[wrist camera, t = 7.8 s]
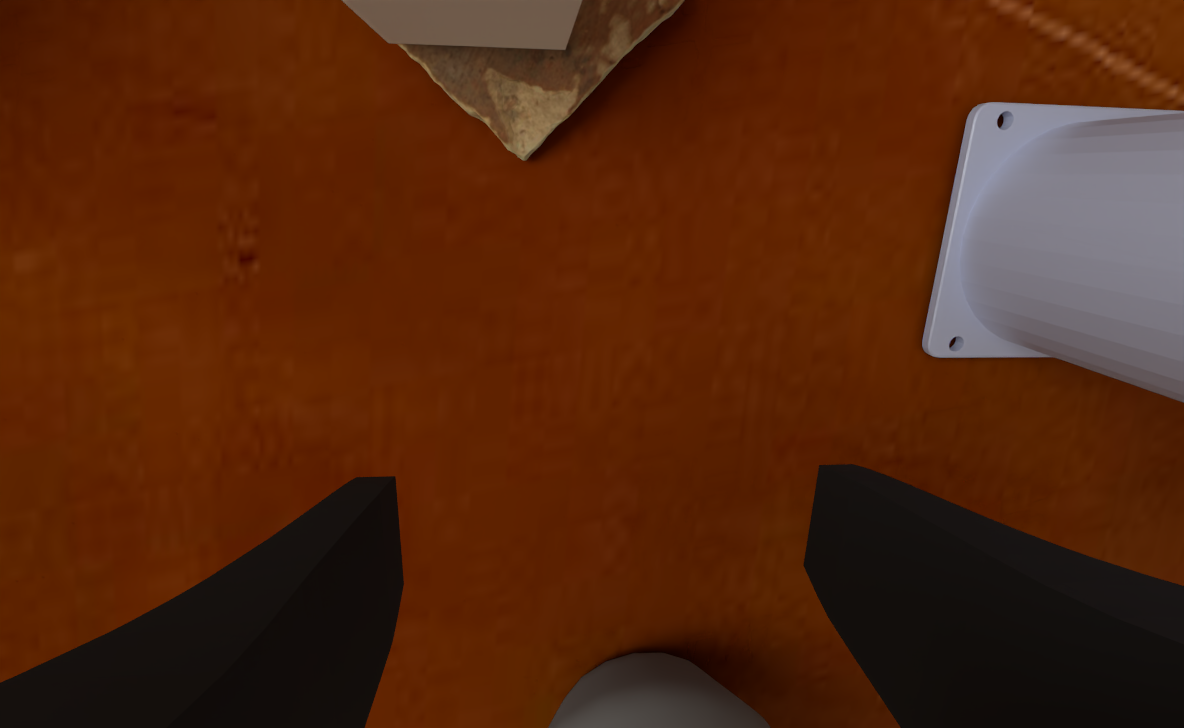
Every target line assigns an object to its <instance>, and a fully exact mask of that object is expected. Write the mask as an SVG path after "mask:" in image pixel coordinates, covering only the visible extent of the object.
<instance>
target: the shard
mask: <svg viewBox="0 0 1184 728" xmlns="http://www.w3.org/2000/svg"><path fill="white" fill-rule="evenodd" d="M684 1H685V0H582V2H581V5H580V8H579V11H578V14H577V17H576V20H575V23H574V26H573V29H572V32H571V35H570V38H569V40H568V43H567V46H566V49H565V50H554V49H528V48H501V47H475V46H449V45H423V44H398V45H399V46H400V47H401V48H402V49H404V50H405V51H406V52H407V54H408V55H409V56H410V57H411V58H412V59H413V60H415V61H416V62H418V63H420V64H421V66H422V67H423V68H424V69H425V70H426V71H427V72H428V74H429V75H430V77H431V78H432V79H433V81H434V82H436V83H437V84H439V85H440V86H441V87H442V88H443V90H444V91H445V92H446V93H447V94H448V95H449V96H450V97H451V98H452V99H453V100H454V101H455V102H456V103H457V104H458V105H459V106H460V107H462V108H463V109H464V110H465V111H466V112H467V113H468V114H469V115H471V116H474V117H476V118H478V119H480V120H481V121H483V122H484V123H486V124H487V125H488V126H489V128H490V129H491V130H492V131H493V132H494V133H495V135H496V136H497V137H498V138H499V139H500V140H501V141H502V143H503V144H504V146H505V147H506V148H507V150H509V151H511V152H513V153H514V154H516V155H517V157H519V158H520V159H522V160H524V161H525V160H527V159H528V158H529V156H530V155H531V154H532V153H533V152H534V151H535V150H536V149H537V148H539V147H540V146H541V145H542V143H543V142H544V141H545V139H546V138H547V136H548V135H549V134H550V133H551V132H552V131H553V130H554V129H555V128H556V127H557V126H558V125H559V124H560V123H562V122H563V121H564V120H566V119H567V118H568V117H569V116H570V115H571V114H572V113H573V112H574V111H575V110H576V109H577V108H578V106H579V105H580V104H581V103H582V102H583V101H584V100H585V99H586V98H587V97H588V96H589V95H590V94H591V93H592V91H593V90H594V89H595V88H596V87H597V86H598V85H599V84H600V83H601V82H602V80H603V79H604V78H605V77H606V76H607V75H608V74H609V72H610V71H611V70H612V69H613V68H614V67H615V66H616V65H617V64H618V62H619V61H620V60H621V59H622V58H623V57H624V56H625V55H626V54H627V53H629V52H630V51H631V50H632V49H633V48H634V46H635V45H636V44H638V43H639V42H641V41H642V40H643V39H645V38H646V37H647V36H648V35H649V34H650V33H651V32H652V31H653V30H654V29H655V28H656V27H657V26H658V25H659V24H661V23H662V22H663V21H664V20H666V19H667V18H669V17H671V16H672V14H673V13H674V12H675V11H676V10H677V9H678V8H679V6H680V5H681V4H682V3H683V2H684Z"/></svg>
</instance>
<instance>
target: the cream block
mask: <svg viewBox="0 0 1184 728" xmlns="http://www.w3.org/2000/svg"><path fill="white" fill-rule="evenodd" d="M342 1H343V2H344V3H345V4H346V5H347V6H348V7H350V8H351V9H352V10H353V11H354V12H355V13H356V14H357V15H358V16H359V17H360V18H362V19H363V20H364V21H365V22H366V23H367V24H368V25H369V26H370V27H371V28H372V29H373V30H375V31H376V32H377V33H378V34H379V35H380V36H381V37H382V38H383V39H384V40H385V41H387V42H388V43H396V44H423V45H449V46H475V47H501V48H528V49H554V50H565V49H566V46H567V43H568V40H569V38H570V35H571V32H572V29H573V26H574V23H575V20H576V17H577V14H578V11H579V8H580V5H581V2H582V0H342Z"/></svg>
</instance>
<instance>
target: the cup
mask: <svg viewBox="0 0 1184 728" xmlns="http://www.w3.org/2000/svg"><path fill="white" fill-rule="evenodd" d="M548 728H770V726H769V724H768V723H767V722H766V721H765V719H764V718H763V717H762V716H761V715H760V714H758V713H757V712H756V711H755V710H753V709H752V708H751V707H750V706H748V705H747V704H746V703H744V702H743V701H742V700H740V699H739V698H738V697H737V696H735V695H734V694H733V693H731V692H730V691H729V690H727V689H726V688H725V687H724V686H722V685H721V684H720V683H718V682H717V681H716V680H714V679H713V678H712V677H710V676H709V675H708V674H706V673H705V672H704V671H702V670H701V669H700V668H699V667H697V666H696V665H694V664H693V663H692V662H690V661H689V660H686V659H682V658H679V657H676V656H672V655H669V654H666V653H632V654H629V655H626V656H623V657H619V658H616V659H613V660H609V661H606V662H604V663H603V664H601V665H600V666H598V667H597V668H595V669H593V670H592V671H590V672H589V673H587V674H586V675H584V676H583V677H581V679H580V680H579V681H578V682H577V683H576V685H575V686H574V687H573V688H572V690H571V691H570V692H569V693H568V695H567V696H566V697H565V699H564V700H563V702H562V704H561V705H560V707H559V709H558V711H557V712H556V714H555V716H554V718H553V720H552V722H551V724H550V725H549V727H548Z"/></svg>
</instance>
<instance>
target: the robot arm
mask: <svg viewBox="0 0 1184 728" xmlns="http://www.w3.org/2000/svg"><path fill="white" fill-rule="evenodd" d="M1000 114H1002V116H1003V118H1004V122H1003V124H1002V126H1001V127H1000V128H999V127H998V126H997V119H998V117H999V115H1000ZM954 337H956V341H955V343H954V345H953V346H952V347H950V348H949V343H950V341H951V340H952V339H953V338H954ZM922 347H923V349H924V351H925V352H926V353H927V354H929V355H931V356H933V357H938V358H984V357H1055V358H1058V359H1060V360H1063V361H1066V362H1069V363H1072V364H1075V365H1078V366H1080V367H1083V368H1086V369H1089V370H1092V371H1095V372H1098V373H1101V374H1103V375H1106V376H1109V377H1112V378H1115V379H1118V380H1121V381H1123V382H1126V383H1129V384H1132V385H1135V386H1138V387H1141V388H1143V389H1146V390H1149V391H1152V392H1155V393H1158V394H1161V395H1163V396H1166V397H1169V398H1172V399H1175V400H1178V401H1181V402H1183V403H1184V111H1174V110H1152V109H1131V108H1109V107H1088V106H1066V105H1045V104H1023V103H1001V102H990V103H984V104H979V105H977V106H976V107H974V108H973V109H972V111H971V112H970V113H969V115H968V118H967V121H966V126H965V131H964V136H963V141H962V146H961V151H960V156H959V161H958V166H957V171H956V176H955V181H954V186H953V191H952V196H951V201H950V206H949V211H948V216H947V221H946V226H945V231H944V236H943V241H942V246H941V250H940V255H939V260H938V265H937V270H936V275H935V280H934V285H933V290H932V295H931V300H930V305H929V310H928V315H927V320H926V325H925V330H924V335H923V340H922ZM804 567H805V570H806V572H807V574H808V576H809V578H810V581H811V583H812V585H813V587H814V589H815V592H816V594H817V596H818V598H819V600H820V602H821V604H822V606H823V608H824V610H825V612H826V614H827V616H828V618H829V619H830V621H831V622H832V624H833V625H834V627H835V629H836V630H837V632H838V633H839V635H840V636H841V638H842V639H843V641H844V643H845V644H846V646H847V647H848V649H849V650H850V652H851V653H852V655H853V656H854V658H855V659H856V661H857V662H858V664H859V665H860V667H861V668H862V670H863V671H864V673H865V674H866V676H867V677H868V679H869V680H870V682H871V683H872V685H873V686H874V688H875V689H876V691H877V692H878V694H879V695H880V697H881V698H882V700H883V701H884V703H885V704H886V706H887V707H888V709H889V710H890V712H891V713H892V715H893V716H894V718H895V719H896V721H897V722H898V724H899V725H900V727H901V728H1184V586H1181V585H1178V584H1175V583H1171V582H1168V581H1164V580H1161V579H1158V578H1154V577H1151V576H1148V575H1144V574H1141V573H1138V572H1135V571H1132V570H1129V569H1126V568H1123V567H1120V566H1117V565H1114V564H1111V563H1107V562H1104V561H1101V560H1098V559H1095V558H1092V557H1089V556H1086V555H1083V554H1080V553H1078V552H1075V551H1072V550H1069V549H1066V548H1064V547H1061V546H1058V545H1055V544H1053V543H1050V542H1048V541H1045V540H1042V539H1040V538H1037V537H1035V536H1032V535H1029V534H1027V533H1024V532H1022V531H1019V530H1016V529H1014V528H1011V527H1009V526H1006V525H1004V524H1001V523H999V522H996V521H994V520H991V519H989V518H987V517H984V516H982V515H979V514H977V513H975V512H972V511H970V510H967V509H965V508H963V507H960V506H958V505H956V504H953V503H951V502H949V501H946V500H944V499H942V498H939V497H937V496H935V495H932V494H930V493H927V492H925V491H923V490H920V489H918V488H916V487H913V486H911V485H909V484H906V483H904V482H901V481H899V480H896V479H894V478H891V477H889V476H886V475H884V474H881V473H878V472H876V471H873V470H870V469H867V468H864V467H860V466H857V465H853V464H847V465H819V471H818V477H817V483H816V490H815V496H814V502H813V509H812V515H811V522H810V528H809V534H808V541H807V547H806V553H805V560H804ZM403 585H404V581H403V568H402V555H401V543H400V530H399V517H398V505H397V492H396V479H395V476H392V477H356V478H355V479H353V480H351V481H349V482H348V483H346V484H345V485H343V486H342V487H340V488H339V489H338V490H336V491H335V492H333V493H332V494H331V495H329V496H328V497H326V498H325V499H324V500H322V501H321V502H319V503H318V504H317V505H315V506H314V507H313V508H311V509H310V510H308V511H307V512H306V513H304V514H303V515H301V516H300V517H299V518H297V519H296V520H294V521H293V522H292V523H290V524H289V525H287V526H286V527H285V528H283V529H282V530H280V531H279V532H278V533H276V534H275V535H273V536H272V537H270V538H269V539H267V540H266V541H264V542H263V543H261V544H260V545H258V546H257V547H255V548H254V549H252V550H251V551H249V552H247V553H246V554H244V555H243V556H241V557H240V558H238V559H237V560H235V561H234V562H232V563H230V564H229V565H227V566H226V567H224V568H223V569H221V570H220V571H218V572H217V573H215V574H213V575H212V576H210V577H209V578H207V579H205V580H204V581H202V582H200V583H199V584H197V585H195V586H194V587H192V588H190V589H189V590H187V591H185V592H183V593H182V594H180V595H178V596H176V597H175V598H173V599H171V600H169V601H168V602H166V603H164V604H162V605H160V606H158V607H156V608H155V609H153V610H151V611H149V612H147V613H145V614H143V615H142V616H140V617H138V618H136V619H134V620H132V621H130V622H129V623H127V624H125V625H123V626H121V627H119V628H117V629H115V630H113V631H111V632H109V633H107V634H105V635H103V636H100V637H98V638H96V639H94V640H92V641H90V642H88V643H85V644H83V645H81V646H79V647H77V648H75V649H73V650H71V651H68V652H66V653H64V654H62V655H60V656H58V657H56V658H53V659H51V660H49V661H47V662H45V663H43V664H41V665H38V666H36V667H34V668H32V669H30V670H28V671H26V672H24V673H21V674H19V675H17V676H15V677H13V678H10V679H8V680H6V681H3V682H1V683H0V728H364V727H365V724H366V721H367V718H368V715H369V712H370V709H371V706H372V703H373V700H374V697H375V694H376V691H377V688H378V685H379V682H380V679H381V676H382V673H383V670H384V667H385V664H386V661H387V658H388V654H389V651H390V648H391V645H392V642H393V637H394V632H395V627H396V622H397V617H398V612H399V607H400V601H401V596H402V590H403Z"/></svg>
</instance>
